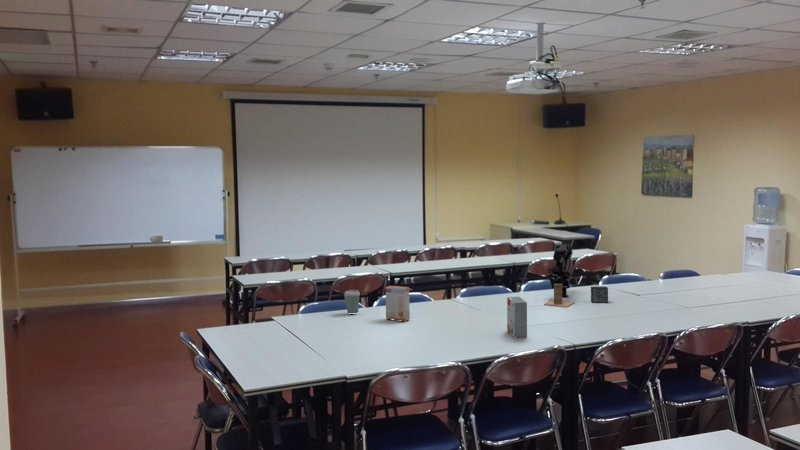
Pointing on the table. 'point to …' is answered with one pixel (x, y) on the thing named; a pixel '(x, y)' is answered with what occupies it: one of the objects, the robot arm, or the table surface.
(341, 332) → the table surface
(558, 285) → the walnut block
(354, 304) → the disposable coffee cup
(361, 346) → the table surface
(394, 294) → the cracker box
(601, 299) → the small box
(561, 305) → the terracotta mat
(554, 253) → the robot arm
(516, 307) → the hard drive box
